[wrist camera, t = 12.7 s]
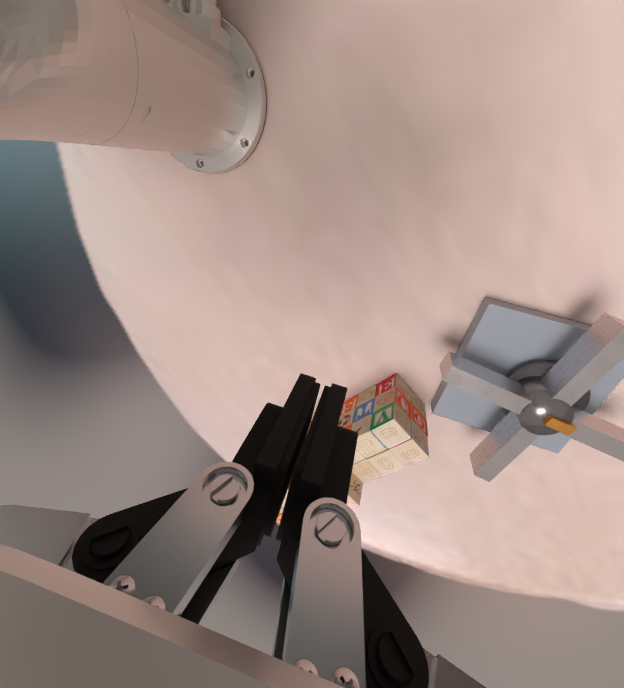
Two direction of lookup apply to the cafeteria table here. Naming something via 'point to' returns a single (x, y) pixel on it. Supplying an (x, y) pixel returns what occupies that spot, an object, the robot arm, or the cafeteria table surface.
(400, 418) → the stack of blocks
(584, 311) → the cafeteria table surface
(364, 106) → the cafeteria table surface
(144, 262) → the cafeteria table surface
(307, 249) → the cafeteria table surface
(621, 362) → the stand
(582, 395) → the capstan
